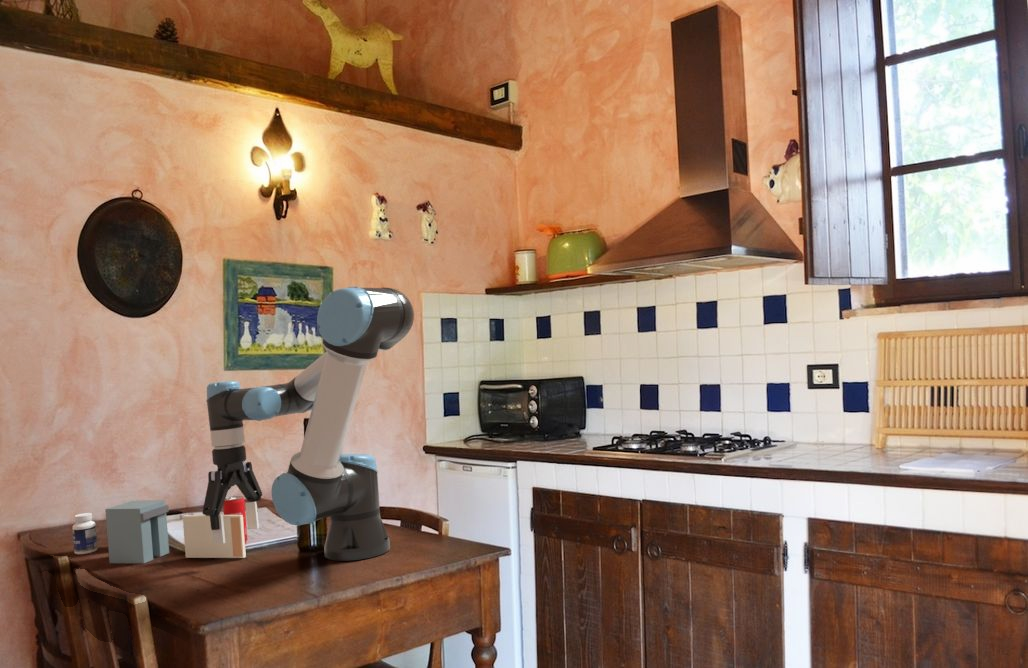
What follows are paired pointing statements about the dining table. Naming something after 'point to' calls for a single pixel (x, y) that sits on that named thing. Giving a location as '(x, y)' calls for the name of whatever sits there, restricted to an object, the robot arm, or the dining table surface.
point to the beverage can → (236, 509)
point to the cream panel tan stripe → (202, 539)
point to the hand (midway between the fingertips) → (236, 535)
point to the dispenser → (137, 531)
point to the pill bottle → (84, 534)
